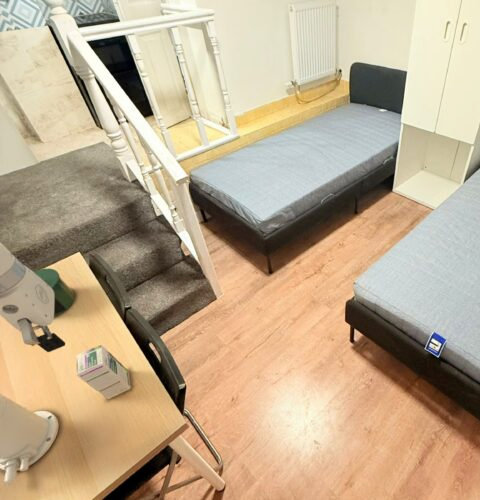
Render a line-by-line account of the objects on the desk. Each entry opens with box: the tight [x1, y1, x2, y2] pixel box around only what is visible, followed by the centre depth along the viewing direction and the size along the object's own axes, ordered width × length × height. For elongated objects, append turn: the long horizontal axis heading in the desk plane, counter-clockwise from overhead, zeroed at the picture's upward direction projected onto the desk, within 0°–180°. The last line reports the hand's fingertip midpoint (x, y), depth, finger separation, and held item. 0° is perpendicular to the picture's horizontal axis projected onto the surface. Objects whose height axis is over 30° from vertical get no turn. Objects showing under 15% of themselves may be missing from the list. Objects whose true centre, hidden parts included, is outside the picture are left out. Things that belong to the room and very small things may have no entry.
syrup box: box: [76, 344, 131, 400], centre depth 83 cm, size 6×6×14 cm
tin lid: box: [33, 268, 61, 289], centre depth 100 cm, size 13×13×5 cm
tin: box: [53, 277, 76, 318], centre depth 104 cm, size 12×12×10 cm
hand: (57, 329), depth 69 cm, fingers open, 9 cm apart
